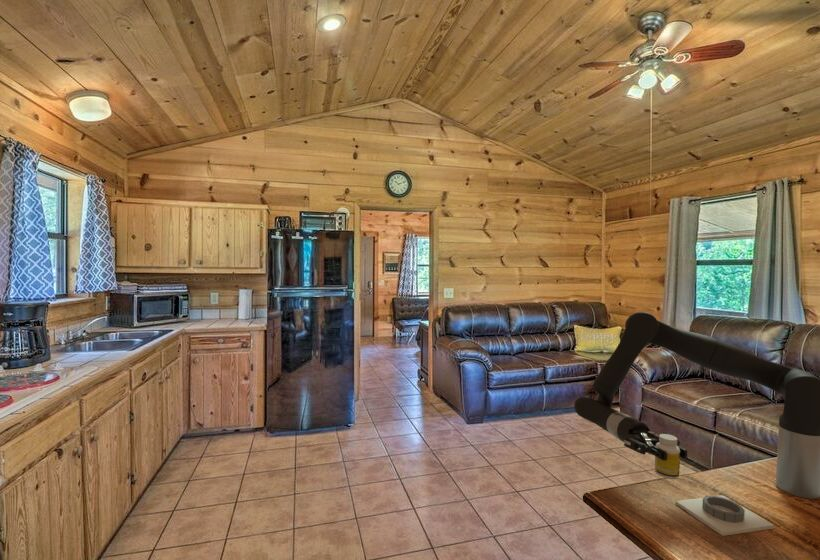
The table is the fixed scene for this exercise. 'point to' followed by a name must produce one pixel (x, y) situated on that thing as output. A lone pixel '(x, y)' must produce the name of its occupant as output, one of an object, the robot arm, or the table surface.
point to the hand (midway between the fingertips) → (675, 455)
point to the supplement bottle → (668, 457)
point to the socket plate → (723, 525)
